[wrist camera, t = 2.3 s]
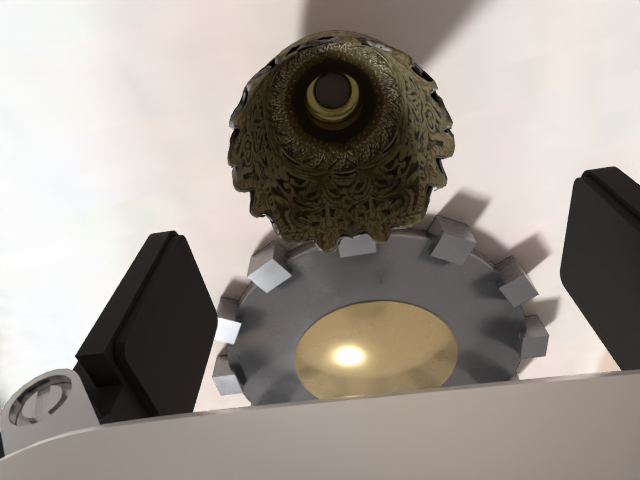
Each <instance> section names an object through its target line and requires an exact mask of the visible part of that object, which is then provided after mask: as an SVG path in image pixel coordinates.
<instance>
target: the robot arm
mask: <svg viewBox="0 0 640 480" xmlns="http://www.w3.org/2000/svg"><path fill="white" fill-rule="evenodd" d="M560 277H561V281H562V284H563V286H564V287H565V289H566V290H567V292H568V293H569V295H570V296H571V297H572V299H573V300H574V302H575V303H576V305H577V306H578V308H579V309H580V311H581V312H582V313H583V315H584V316H585V318H586V319H587V321H588V322H589V324H590V325H591V327H592V328H593V330H594V331H595V332H596V334H597V335H598V337H599V338H600V340H601V341H602V343H603V344H604V346H605V347H606V348H607V350H608V351H609V353H610V354H611V356H612V357H613V359H614V360H615V362H616V363H617V365H618V366H619V367H620V369H621V370H622V371H612V372H601V373H590V374H579V375H568V376H557V377H546V378H535V379H525V380H514V381H503V382H492V383H481V384H471V385H460V386H450V387H439V388H429V389H419V390H408V391H398V392H388V393H378V394H367V395H357V396H347V397H337V398H327V399H317V400H307V401H298V402H288V403H278V404H268V405H259V406H249V407H239V408H230V409H220V410H210V411H201V412H193V410H194V406H195V403H196V399H197V396H198V393H199V389H200V386H201V382H202V379H203V375H204V372H205V368H206V365H207V362H208V358H209V355H210V351H211V348H212V344H213V341H214V338H215V334H216V331H217V327H218V316H217V312H216V310H215V307H214V305H213V302H212V300H211V298H210V295H209V293H208V290H207V288H206V285H205V283H204V281H203V278H202V276H201V273H200V271H199V269H198V266H197V264H196V261H195V259H194V257H193V254H192V252H191V249H190V247H189V244H188V242H187V240H186V238H185V237H184V236H183V235H178V234H177V232H176V231H167V232H160V233H153V234H151V235H150V236H149V237H148V238H147V240H146V242H145V243H144V245H143V247H142V248H141V250H140V251H139V253H138V255H137V256H136V258H135V260H134V261H133V263H132V264H131V266H130V268H129V269H128V271H127V273H126V274H125V276H124V277H123V279H122V281H121V282H120V284H119V286H118V287H117V289H116V290H115V292H114V294H113V295H112V297H111V299H110V300H109V302H108V303H107V305H106V307H105V308H104V310H103V312H102V313H101V315H100V316H99V318H98V320H97V321H96V323H95V325H94V326H93V328H92V329H91V331H90V333H89V334H88V336H87V338H86V339H85V341H84V342H83V344H82V346H81V347H80V349H79V351H78V352H77V354H76V355H75V357H76V358H77V360H78V362H77V364H76V365H75V367H74V369H73V370H70V369H56V370H53V371H49V372H46V373H44V374H42V375H40V376H38V377H36V378H34V379H32V380H31V381H29V382H28V383H26V384H25V385H23V386H22V387H21V388H20V389H19V390H18V391H17V392H16V393H15V394H13V395H12V397H11V398H10V399H9V401H8V402H7V403H6V404H5V406H4V408H3V410H2V412H1V414H0V430H1V432H0V480H640V185H639V184H638V183H636V182H635V181H634V180H632V179H631V178H630V177H629V176H627V175H626V174H625V173H623V172H622V171H621V170H620V169H618V168H616V167H606V168H599V169H592V170H586V171H585V172H583V174H582V176H581V177H580V178H577V179H576V180H575V181H574V184H573V190H572V197H571V203H570V209H569V216H568V222H567V229H566V235H565V242H564V248H563V254H562V261H561V267H560Z"/></svg>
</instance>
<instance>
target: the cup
mask: <svg viewBox="0 0 640 480" xmlns="http://www.w3.org/2000/svg"><path fill="white" fill-rule="evenodd" d="M331 73H334V74H339V75H341V76H343V77H344V78H345V79H346V80H347V82H348V84H349V87H350V94H349V97H348V99H347V101H346V102H345V103H344V104H343V105H342V106H340V107H338V108H327V107H324V106H323V105H321V104H320V103H319V101H318V100H317V98H316V93H315V89H316V85H317V83H318V81H319V80H320V79H321V78H322V77H323V76H325V75H327V74H331ZM436 89H438V87H437V85H436V83H435V81H434V80H433V79H432V78H431V77H430V76H429V75H428V74H427V73H426V72H425V71H423V70H422V69H421V68H420V67H419V66H418V65H417V64H416V63H415V62H414V60H413V59H412V58H411V57H409V56H408V55H407V54H406V53H404V52H402V51H400V50H398V49H396V48H393V47H391V46H388V45H387V44H385V43H383V42H381V41H379V40H377V39H374V38H372V37H369V36H367V35H363V34H359V33H355V32H349V31H327V32H321V33H316V34H312V35H310V36H307V37H305V38H302V39H300V40H298V41H296V42H295V43H293V44H291V45H290V46H288V47H287V48H285V49H284V50H283V51H281V52H280V53H279V54H278V55H277V56H276V57H275V58H273V59H272V60H271V61H270V62H269V63H268V64H267V65H266V66H265V67H264V68H262V69H261V70H260V71H259V72H258V73H256V74H255V75H254V76H253V77H252V78H251V79H250V81H249V82H248V83H247V85H246V86H245V88H244V91H243V95H242V98H241V100H240V102H239V104H238V106H237V107H236V108H235V110H234V112H233V113H232V115H231V118H230V121H229V127H230V128H234V129H233V130H234V131H233V133H232V135H231V137H230V147H229V151H228V164H229V166H231V168H233V167H234V168H233V170H232V178H233V186H234V188H235V189H236V190H237V191H238V192H243V193H244V192H250V200H251V201H250V214H251V215H252V216H254V217H256V218H258V217H265V216H267V217H268V218H269V219H270V221H271V223H272V226H273V228H274V230H275V232H276V233H277V234H278V236H279V237H280V238H281V239H282V240H283V241H284V242H285V243H288V244H305V243H309V242H310V243H312V242H314V244H315V246H316V248H317V249H319V250H320V251H322V252H324V253H332V252H334V251H336V249H337V248H338V247H339V245H340V241H341V240H342V237H349V238H352V239H356V238H357V237H358V236H360V235H363V234H368V235H369V236H370V237H371V238H372V240H371V241H372V242H373V243H374V244H377V243H385V242H387V241H388V240H389V238H390V237H391V234H392V232H393V229H396V228H398V229H405V228H408V227H410V226H413V225H415V224H416V223H418V222H420V221H421V220H422V219H423V218H424V216H425V213H426V211H427V208H428V205H429V202H430V195H431V192H432V189H433V187H437V189H435V190H438V189H440V188H443V187H444V186H446V184H447V176H446V174H445V171H444V169H443V166H442V162H441V159H446V158H449V157H452V155H453V153H454V149H455V142H454V135H453V134H452V132H451V131H450V130H449V129H452V127H451V126H452V124H453V122H452V119H451V117H450V115H449V113H448V111H447V110H446V108H445V105H444V103H443V100H442V98H441V97H440V96H438V95H437V93H436ZM435 190H434V191H435ZM262 214H266V215H262ZM340 238H341V239H340ZM339 239H340V240H339ZM338 240H339V242H338ZM337 242H338V244H337Z"/></svg>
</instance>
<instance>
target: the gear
mask: <svg viewBox="0 0 640 480" xmlns="http://www.w3.org/2000/svg"><path fill="white" fill-rule="evenodd" d="M340 239H341V238H340ZM340 239H339V240H340ZM339 240H338V242H339ZM371 240H372V238H371V237H370V236H369V235H368V234H363V235H360V236H358V237H357V238H356V239H352V238H349V237H342V240H341V241H340V245H339V247H338V248H337V249H336V251H334V252H332V253H324V252H322V251H320V250H319V249H317V248H316V246H315V244H314V242H312V243H310V242H309V243H306V244H304V245H302V246H300V247H297V248H295V249H293V250H291V251H290V252H288V251H287V250H285V249H284V248H283V247H282V246H281V245H280V244H279V243H278V242H277V241H276V240H274V241H273V242H272V243H270V244H269V245H267V246H266V247H265V248H263V249H262V250H261V251H259V252H258V253H257V254H255V255H254V256H252V257H251V259H250V264H249V269H248V274H247V277H248V278H249V279H250V280H251V281H252V282H251V283H250V284H249V286H248V287H247V289H246V290H245V292H244V293H243V295H242V296H241V298H240V300H239V301H235V300H231V299H227V298H223V297H221V298H220V301H219V305H218V308H217V311H216V312H217V316H218V327H217V331H216V334H215V338H214V340H217V341H221V342H225V343H228V345H227V355H226V356H219V357H217V358H216V363H215V367H214V371H213V376H212V378H213V380H214V383H215V385H216V387H217V389H218V391H219V393H220V395H229V394H238V393H243V394H244V395H245V397H246V398H247V399H248V400H249V401H250V402H251V406H259V405H268V404H278V403H288V402H298V401H307V400H317V399H327V398H337V397H347V396H357V395H367V394H378V393H388V392H398V391H408V390H419V389H429V388H439V387H450V386H460V385H471V384H481V383H492V382H503V381H514V380H519V377H518V375H517V373H516V369H517V368H518V365H519V363H520V361H521V359H526V358H534V357H542V356H546V350H547V345H548V339H549V334H548V333H547V331H546V329H545V327H544V326H543V324H542V322H541V321H540V319H539V317H538V315H534V316H527V317H525V316H524V312H523V309H522V307H521V304H522V303H523V302H525V301H527V300H529V299H531V298H533V297H535V296H537V295H539V294H538V292H537V290H536V289H535V287H534V285H533V284H532V282H531V281H530V279H529V277H528V276H527V274H526V273H525V272H524V270H523V269H522V268H521V266H520V265H519V264H518V262H517V261H516V260H515V258H514V257H513V255H512V256H511V257H509V258H507V259H505V260H504V261H502V262H500V263H498V264H496V265H494V264H493V263H492V262H491V261H490V260H488V259H487V258H486V257H484V256H483V255H482V254H481V253H479V252H478V251H476V250H474V247H475V246H476V244H477V242H476V240H475V238H474V236H473V234H472V233H471V231H470V229H469V227H468V225H465V224H462V223H459V222H456V221H453V220H450V219H447V218H444V217H441V216H438V215H437V216H436V217H435V219H434V221H433V222H432V224H431V226H430V227H429V229H428V231H423V230H416V229H408V228H405V229H398V228H396V229H393V232H392V234H391V237H390V238H389V240H388V241H387V242H385V243H377V244H374V243H373V242H372V241H371ZM338 242H337V244H338Z"/></svg>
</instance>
